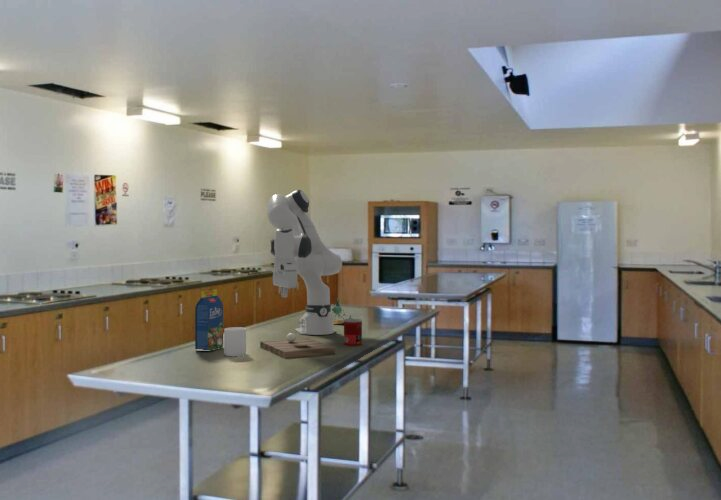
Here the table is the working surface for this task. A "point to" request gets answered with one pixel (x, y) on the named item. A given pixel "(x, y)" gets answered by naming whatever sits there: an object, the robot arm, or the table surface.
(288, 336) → the ball
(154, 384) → the table surface
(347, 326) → the canned food
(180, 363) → the table surface
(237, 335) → the mug
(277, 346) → the board
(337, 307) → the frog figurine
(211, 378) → the table surface
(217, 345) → the blue food package
